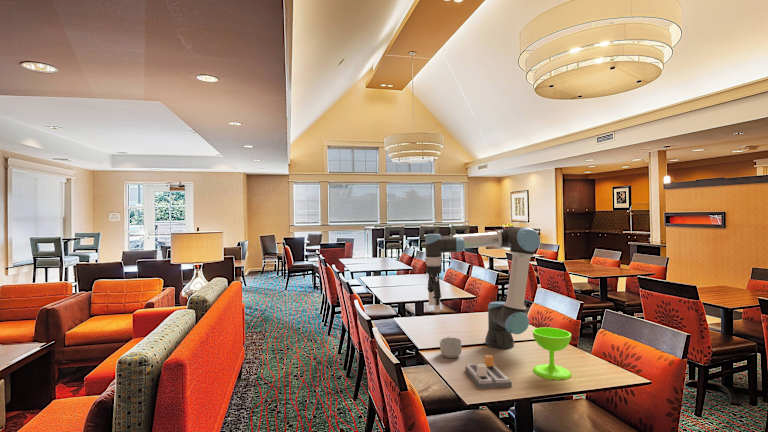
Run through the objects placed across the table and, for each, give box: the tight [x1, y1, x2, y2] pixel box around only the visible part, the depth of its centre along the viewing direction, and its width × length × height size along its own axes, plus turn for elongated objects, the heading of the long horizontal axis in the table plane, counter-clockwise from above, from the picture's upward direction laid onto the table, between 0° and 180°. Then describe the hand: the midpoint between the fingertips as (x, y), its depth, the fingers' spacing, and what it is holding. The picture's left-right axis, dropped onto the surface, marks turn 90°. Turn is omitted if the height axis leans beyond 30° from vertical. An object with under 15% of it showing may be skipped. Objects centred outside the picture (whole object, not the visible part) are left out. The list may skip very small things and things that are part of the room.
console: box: [464, 362, 513, 390], centre depth 169 cm, size 14×18×3 cm
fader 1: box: [476, 363, 487, 379], centre depth 165 cm, size 3×3×5 cm
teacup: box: [439, 336, 462, 359], centre depth 198 cm, size 14×11×8 cm
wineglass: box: [532, 326, 572, 381], centre depth 175 cm, size 16×16×18 cm
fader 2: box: [483, 354, 495, 369], centre depth 175 cm, size 3×3×5 cm
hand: (434, 308), depth 192 cm, fingers open, 13 cm apart
